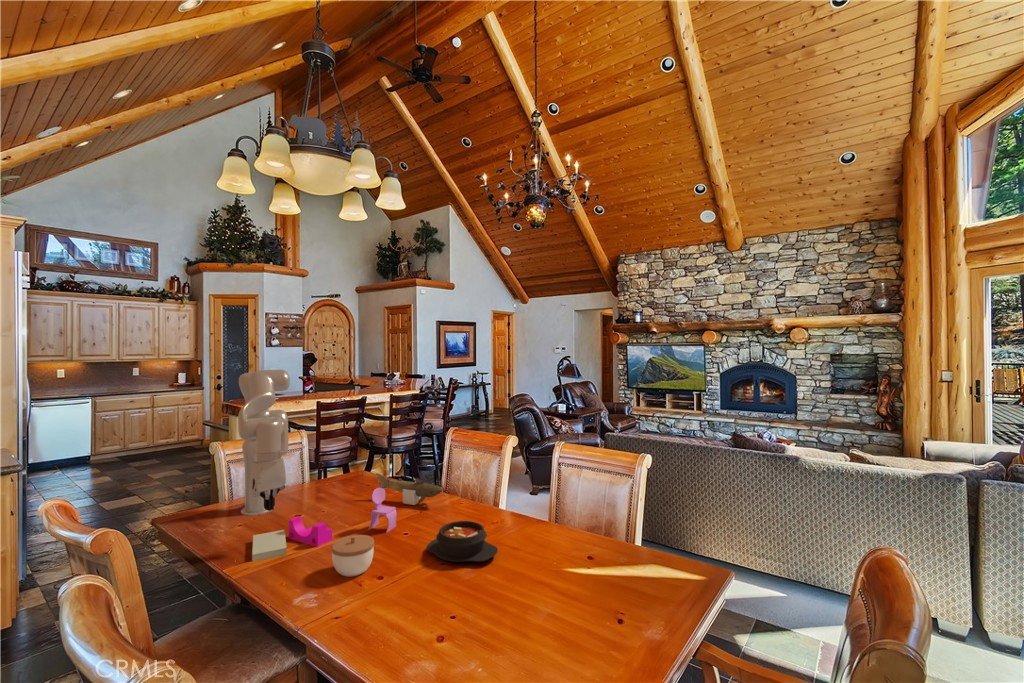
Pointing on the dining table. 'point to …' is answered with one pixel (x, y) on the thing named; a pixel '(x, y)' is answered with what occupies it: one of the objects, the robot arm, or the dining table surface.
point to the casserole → (462, 543)
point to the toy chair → (382, 510)
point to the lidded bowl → (352, 554)
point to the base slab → (269, 545)
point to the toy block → (309, 532)
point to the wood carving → (410, 489)
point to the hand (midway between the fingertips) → (269, 509)
